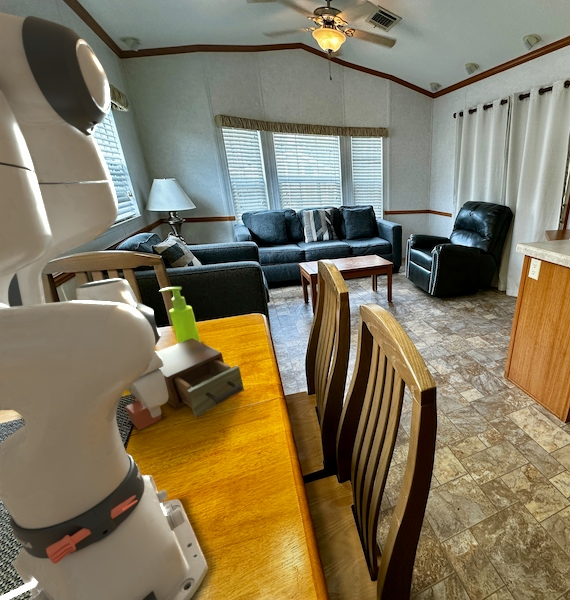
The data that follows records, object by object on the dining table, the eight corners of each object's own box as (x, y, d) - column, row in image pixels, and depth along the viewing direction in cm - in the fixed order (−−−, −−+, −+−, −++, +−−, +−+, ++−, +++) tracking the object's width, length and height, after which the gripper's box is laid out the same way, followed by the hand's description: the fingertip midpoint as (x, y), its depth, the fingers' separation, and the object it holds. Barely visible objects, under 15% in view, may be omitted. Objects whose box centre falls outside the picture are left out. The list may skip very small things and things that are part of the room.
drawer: (256, 397, 80) (251, 373, 77) (208, 426, 70) (201, 400, 68) (214, 373, 89) (209, 351, 86) (168, 396, 80) (160, 372, 77)
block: (162, 418, 74) (156, 402, 73) (139, 430, 71) (133, 414, 69) (153, 411, 76) (148, 395, 75) (131, 422, 73) (125, 406, 71)
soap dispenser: (181, 343, 107) (164, 285, 99) (204, 341, 108) (189, 284, 100) (172, 352, 101) (154, 291, 94) (197, 350, 102) (181, 290, 95)
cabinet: (228, 381, 87) (221, 352, 84) (176, 408, 77) (166, 377, 74) (199, 364, 95) (192, 337, 91) (149, 387, 85) (139, 358, 82)
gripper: (91, 345, 71) (112, 396, 76) (127, 377, 60) (149, 434, 65) (126, 333, 76) (144, 382, 81) (165, 361, 65) (183, 416, 70)
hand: (146, 406), depth 73 cm, fingers open, 8 cm apart
